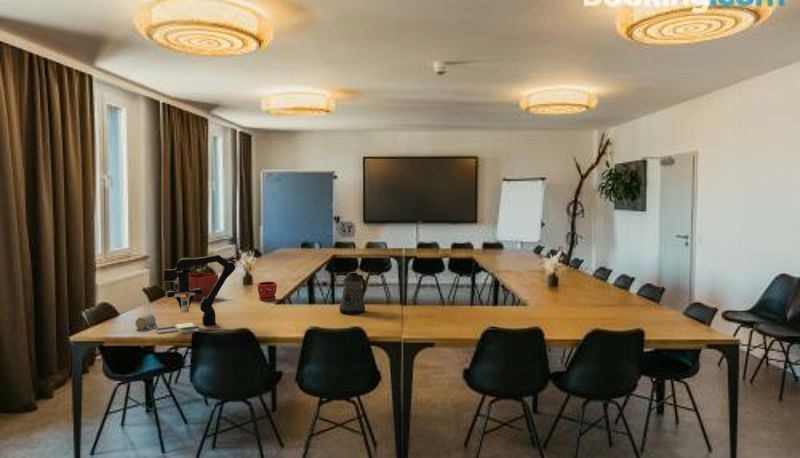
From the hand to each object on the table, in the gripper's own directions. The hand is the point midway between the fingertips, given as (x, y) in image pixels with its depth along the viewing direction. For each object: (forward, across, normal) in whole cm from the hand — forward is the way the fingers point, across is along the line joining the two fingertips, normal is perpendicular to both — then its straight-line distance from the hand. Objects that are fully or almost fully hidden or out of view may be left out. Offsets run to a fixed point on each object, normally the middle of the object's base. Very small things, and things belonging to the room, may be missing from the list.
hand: (184, 307), depth 306 cm
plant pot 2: (+11, -63, -49) cm, 81 cm away
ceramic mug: (+11, +19, -6) cm, 22 cm away
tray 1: (+11, +11, +6) cm, 16 cm away
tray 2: (+11, -1, +13) cm, 17 cm away
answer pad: (+11, 0, 0) cm, 11 cm away
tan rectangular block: (+2, 0, 0) cm, 2 cm away
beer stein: (+12, -99, +15) cm, 101 cm away
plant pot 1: (+11, -23, -77) cm, 81 cm away
